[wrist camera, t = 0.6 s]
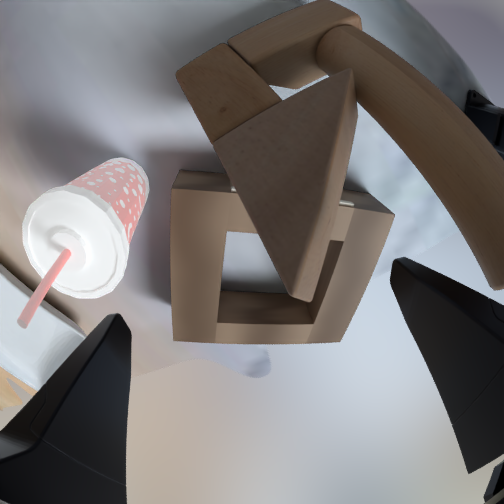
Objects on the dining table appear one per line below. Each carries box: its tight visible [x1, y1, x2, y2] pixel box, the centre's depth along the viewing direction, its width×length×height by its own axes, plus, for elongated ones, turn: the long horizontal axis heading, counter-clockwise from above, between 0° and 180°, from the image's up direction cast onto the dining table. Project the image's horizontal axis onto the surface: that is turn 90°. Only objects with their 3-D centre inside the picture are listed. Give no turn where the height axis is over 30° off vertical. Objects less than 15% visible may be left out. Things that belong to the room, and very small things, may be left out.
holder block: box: [170, 170, 395, 344], centre depth 22 cm, size 15×13×4 cm
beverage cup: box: [17, 157, 150, 329], centre depth 13 cm, size 6×6×14 cm
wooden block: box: [175, 0, 504, 303], centre depth 11 cm, size 4×11×18 cm
